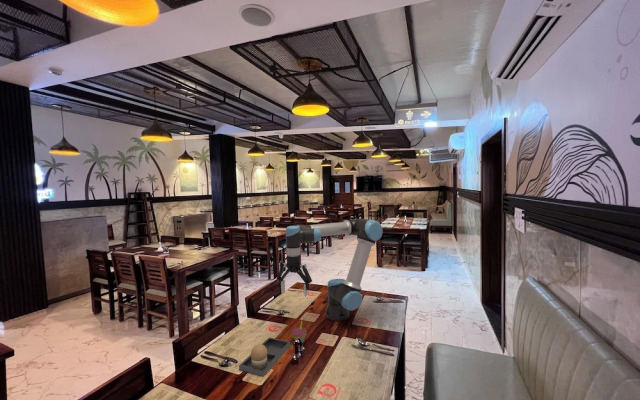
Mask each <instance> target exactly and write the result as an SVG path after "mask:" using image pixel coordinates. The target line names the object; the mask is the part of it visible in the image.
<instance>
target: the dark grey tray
mask: <svg viewBox="0 0 640 400" xmlns="http://www.w3.org/2000/svg"><path fill="white" fill-rule="evenodd" d="M261 344H262V345H264V346H265V347H266V348H267V352H268V354H267V365H266V367H264V368H262V369H256V368H252V358H251V354H249V356H247V357H246V358H245V359H244V360H243V361H242V362H241V363H240V364H239V365H238V370H239V371H240V372H241V371H242V372H243V373H249V374H251V375H255V376H259V377H265V376H266V375H267V374H268V373H269V372H270V370H271V369H272V368H273V367H274V366H275V364H276V363H277V362H278V361H279V360H280V359H281V358H282V357H283V356H284V354H285V353H286V352H287V351H288V349H290V347H291V345H292V342H291V341H289V340H285V339H279V338H275V337H274V338H273V337H268V338H267V339H265V340H264V342H262V343H261Z"/></svg>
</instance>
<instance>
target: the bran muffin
mask: <svg viewBox="0 0 640 400" xmlns="http://www.w3.org/2000/svg"><path fill="white" fill-rule="evenodd" d="M267 354H268V352H267V348H266V347H265V346H264V345H262V343H259V344H255V346H253V347H252V349H251V351H250V355H251V358H252V368H256V369H262V368H264V367H266V365H267Z"/></svg>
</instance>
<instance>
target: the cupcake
mask: <svg viewBox="0 0 640 400" xmlns="http://www.w3.org/2000/svg"><path fill="white" fill-rule="evenodd" d="M302 326H303V320H301V322H300V326H298V327H295V328H293V329H292V330H291V332H290V337H292V338H293V340H294V341H295V340H296V339H298V338H299V339H300V340H301V342H302V343H301V344H303V343H304V342H305V338H306V337H307V334H308V331H307V329H306V328H304V327H302Z"/></svg>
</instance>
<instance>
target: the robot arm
mask: <svg viewBox="0 0 640 400" xmlns="http://www.w3.org/2000/svg"><path fill="white" fill-rule="evenodd" d="M339 235H346V236H356V240H357V244H356V247H355V251H354V255H353V257H352V260H351V264H350V266H349V270H348V273H347V276H346V279H344V278H333V279H329V281H327V306H326V309H325V317H326V318H327V319H328V320H329V321H333V322H341V321H346V320H348V319H349V318H350V311H355V310H356V309H358V308H359V307H361V305H362V303H363V296H362V294H361V292H362V287H361V283H362V279H363V276H364V273H365V270H366V266H367V263H368V259H369V256H370V253H371V250H372V247H373V246H375V245H376V243H377V241H379V240H380V239H381V238H382V236H383V226H382V225H381V223H380V222H378V221H377V220H374V219H369V218H354V219H346V220H345V221H342V222H341V221H340V222H330V223H317V224H309V225H303V224H297V225H289V226H287V227H286V229H285V245H286V246H285V251H286V252H285V254H286V255H285V257H286V258H285V259H286V260H285V261H286V262H282V263H281V264H280V269H279V271H278V274H277V276H276V280H278V281H279V286H280V288H281V289H280V290H281V292H280V293H281V294H284V293H285V292H286V283H285V282H286V280H285V278H286V277H287V275H288V274H289V273H295V274H297V275H298V276H299V277H300V278H301V280H302V281H303V283H304V284H303V296H304V297H307V296H308V291H309V288H310V284H311V283H312V282H313V279H312V276H311V275H310V273H309V271H308V268H307V264H305V263H304V264H301V261H302V260H301V244H305V243H306V244H307V243H315V242H319V241H320V240H321V239H322V237H329V236H339ZM285 268H287V269H286V270H285Z"/></svg>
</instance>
